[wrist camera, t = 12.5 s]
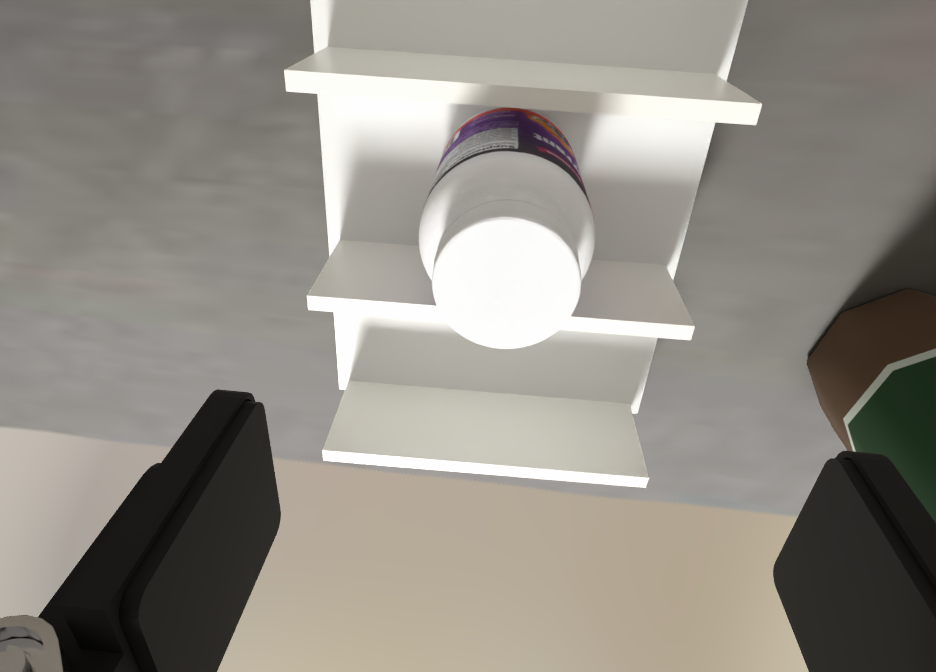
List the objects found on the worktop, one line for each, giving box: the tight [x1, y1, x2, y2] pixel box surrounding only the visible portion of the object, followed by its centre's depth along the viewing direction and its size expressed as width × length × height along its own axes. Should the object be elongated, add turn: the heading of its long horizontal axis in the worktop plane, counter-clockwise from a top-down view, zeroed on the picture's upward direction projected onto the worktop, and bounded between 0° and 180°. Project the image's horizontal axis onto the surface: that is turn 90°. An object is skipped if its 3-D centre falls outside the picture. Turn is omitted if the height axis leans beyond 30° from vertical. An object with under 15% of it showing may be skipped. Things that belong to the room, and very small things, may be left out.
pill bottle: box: [419, 107, 595, 349], centre depth 20 cm, size 5×5×10 cm
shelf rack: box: [284, 0, 762, 488], centre depth 23 cm, size 15×23×6 cm, turn 177°
